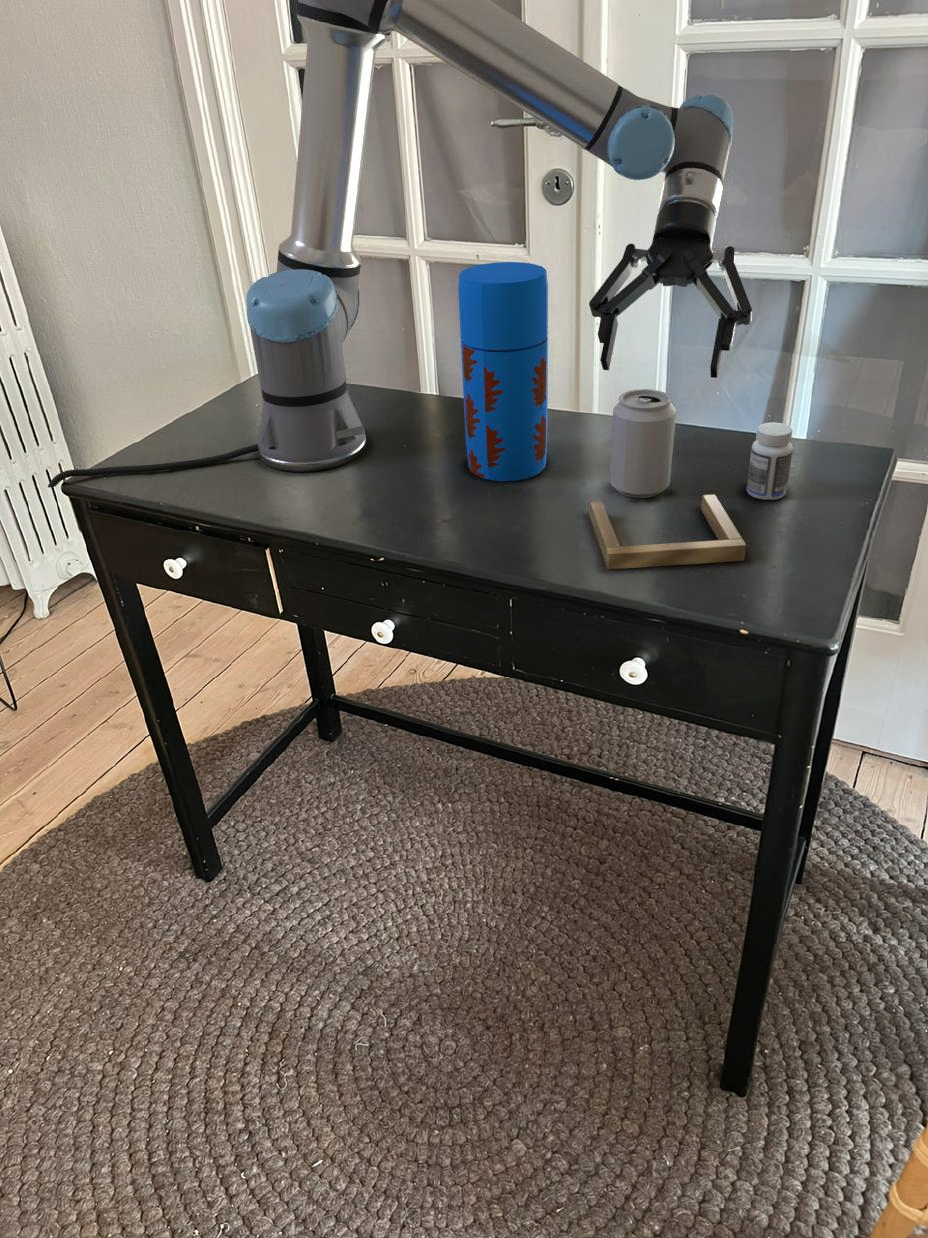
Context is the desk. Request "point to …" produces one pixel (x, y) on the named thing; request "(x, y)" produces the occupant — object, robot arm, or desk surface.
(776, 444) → the pill bottle
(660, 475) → the can
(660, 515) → the desk surface
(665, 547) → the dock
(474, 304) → the thermos
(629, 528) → the desk surface
